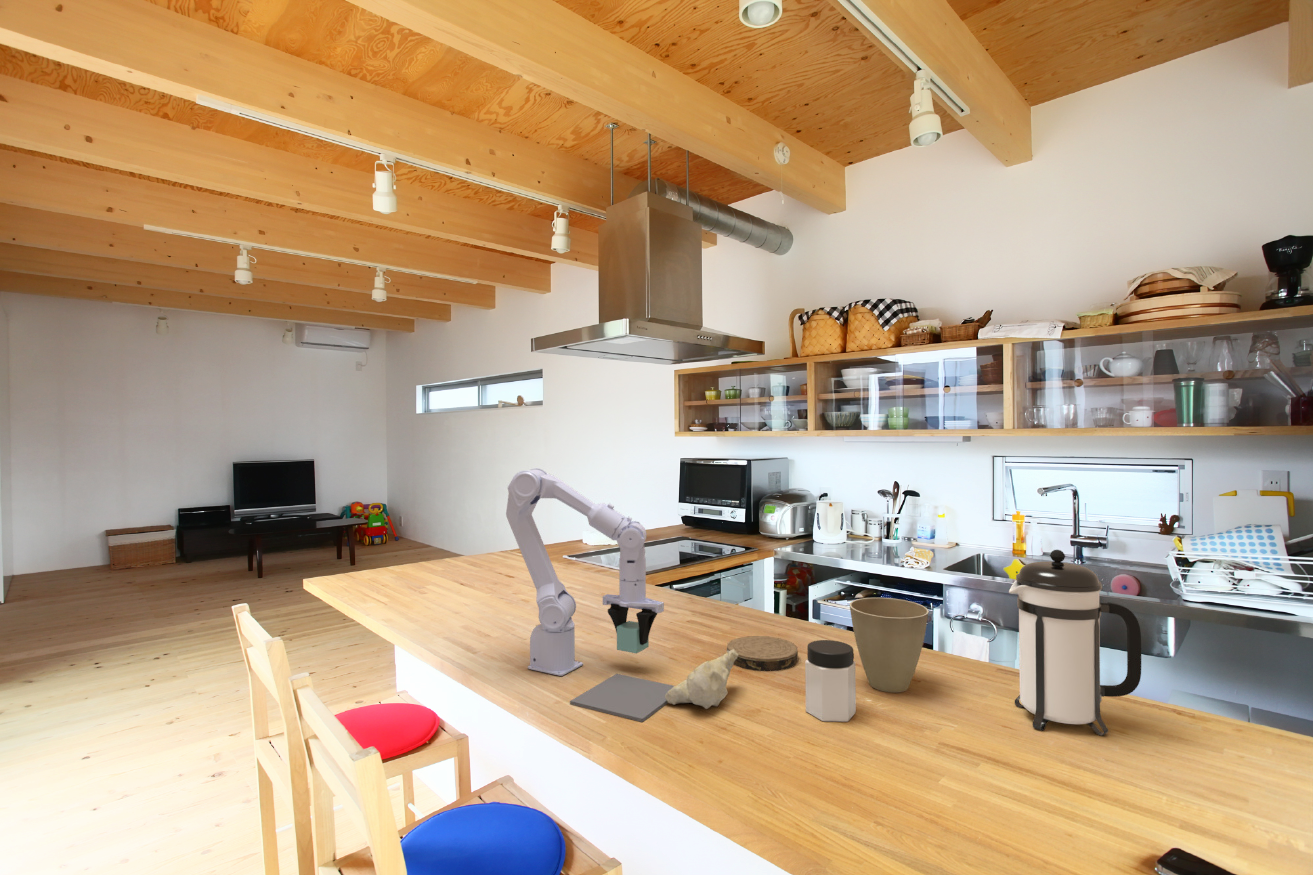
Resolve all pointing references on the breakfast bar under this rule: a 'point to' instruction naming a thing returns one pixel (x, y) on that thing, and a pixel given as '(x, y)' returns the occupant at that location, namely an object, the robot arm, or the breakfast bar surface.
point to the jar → (830, 681)
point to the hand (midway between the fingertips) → (632, 641)
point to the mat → (625, 697)
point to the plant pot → (889, 640)
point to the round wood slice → (764, 653)
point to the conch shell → (705, 683)
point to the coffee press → (1067, 644)
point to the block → (629, 638)
